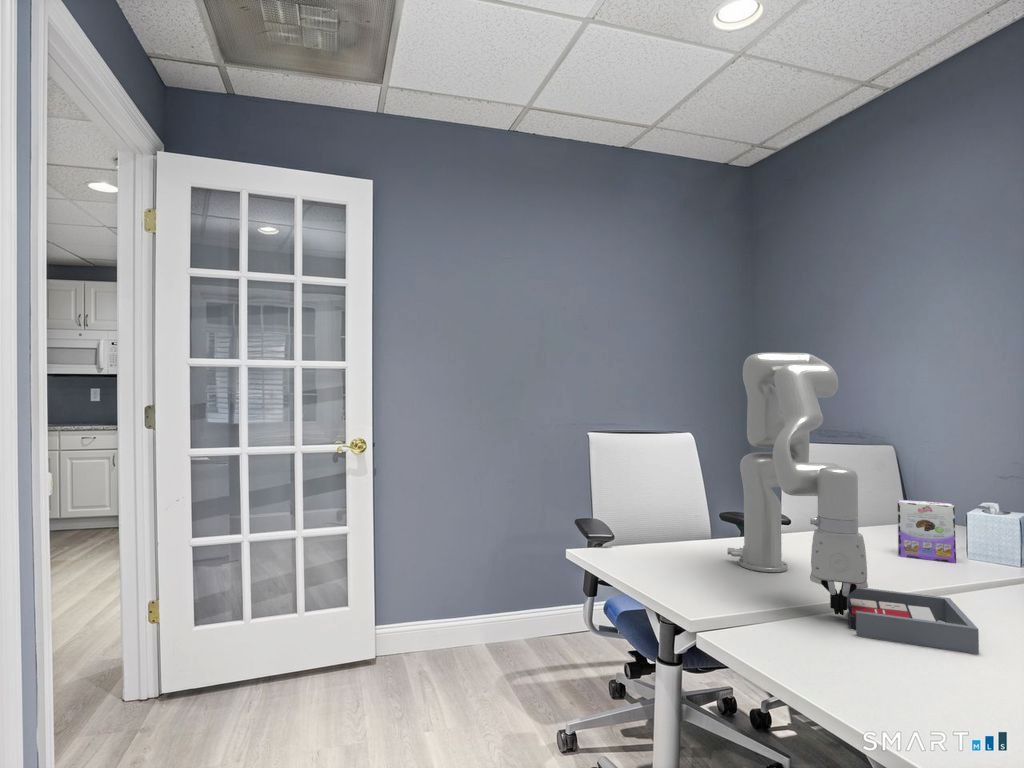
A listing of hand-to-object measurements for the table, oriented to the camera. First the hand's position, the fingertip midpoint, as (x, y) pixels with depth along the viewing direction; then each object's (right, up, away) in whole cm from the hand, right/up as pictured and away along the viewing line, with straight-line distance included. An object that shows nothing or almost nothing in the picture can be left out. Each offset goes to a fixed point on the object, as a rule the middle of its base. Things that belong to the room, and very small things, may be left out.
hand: (838, 612), depth 122 cm
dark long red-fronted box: (+8, -2, -5) cm, 10 cm away
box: (+11, -1, -5) cm, 12 cm away
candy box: (+53, -3, +48) cm, 72 cm away
